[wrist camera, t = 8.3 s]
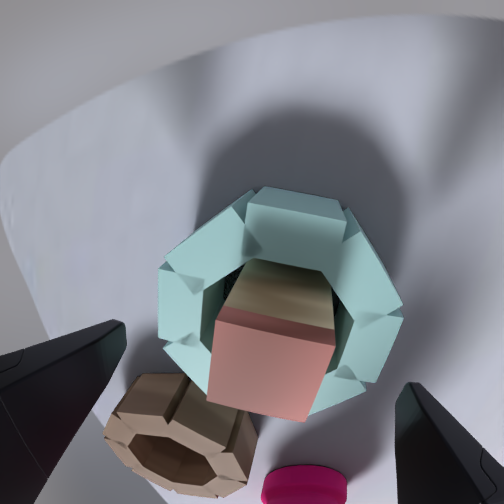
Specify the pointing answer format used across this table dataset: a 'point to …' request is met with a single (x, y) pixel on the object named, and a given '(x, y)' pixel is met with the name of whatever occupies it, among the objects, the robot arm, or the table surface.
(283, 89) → the table surface
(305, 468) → the pepper mill
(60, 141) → the table surface
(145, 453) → the brown segmented ring
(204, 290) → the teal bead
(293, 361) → the pink two-tone square block
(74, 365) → the robot arm
